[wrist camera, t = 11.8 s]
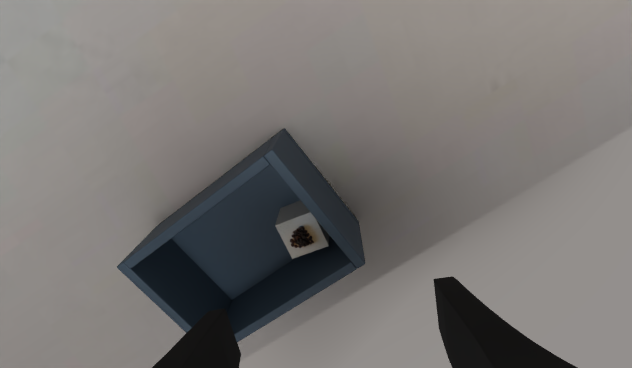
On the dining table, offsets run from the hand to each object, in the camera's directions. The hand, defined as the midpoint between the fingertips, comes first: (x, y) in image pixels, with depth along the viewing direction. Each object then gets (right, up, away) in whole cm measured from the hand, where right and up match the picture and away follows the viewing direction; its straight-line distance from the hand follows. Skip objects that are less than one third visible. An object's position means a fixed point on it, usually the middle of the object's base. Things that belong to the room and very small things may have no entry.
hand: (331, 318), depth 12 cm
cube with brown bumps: (-1, +3, +9) cm, 9 cm away
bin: (-4, +2, +9) cm, 11 cm away
